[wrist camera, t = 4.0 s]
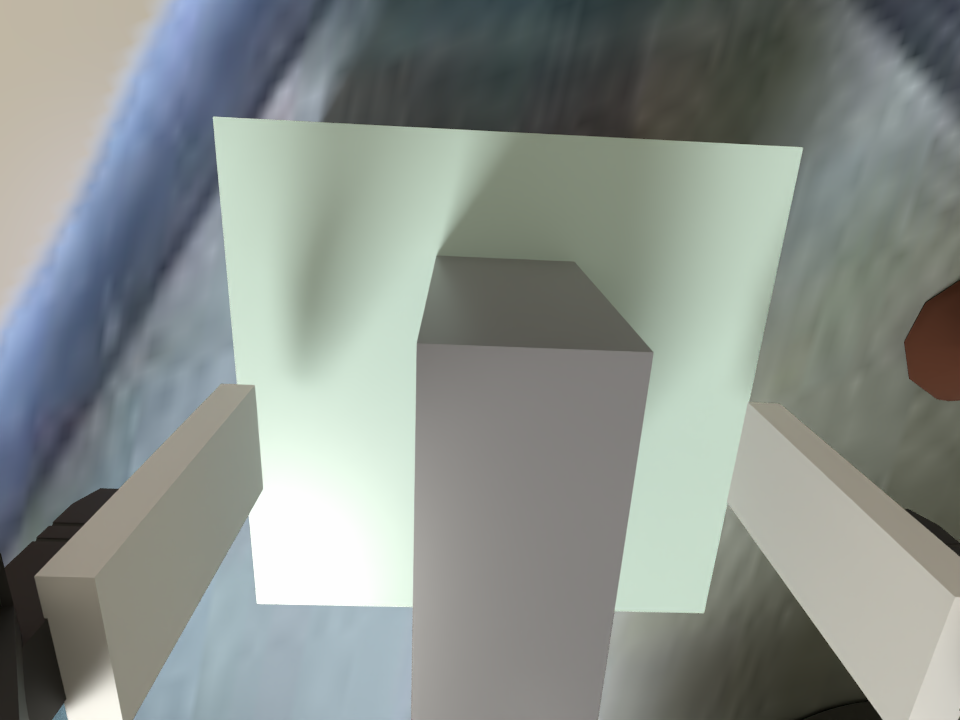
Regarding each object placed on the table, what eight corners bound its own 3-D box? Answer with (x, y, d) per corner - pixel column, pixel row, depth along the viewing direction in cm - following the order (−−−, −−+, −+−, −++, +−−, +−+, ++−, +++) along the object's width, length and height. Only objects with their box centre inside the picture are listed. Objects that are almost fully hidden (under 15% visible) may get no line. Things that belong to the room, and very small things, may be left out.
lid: (765, 146, 17) (1069, 156, 8) (683, 571, 22) (824, 852, 13) (242, 118, 16) (2, 101, 8) (275, 561, 21) (149, 848, 13)
